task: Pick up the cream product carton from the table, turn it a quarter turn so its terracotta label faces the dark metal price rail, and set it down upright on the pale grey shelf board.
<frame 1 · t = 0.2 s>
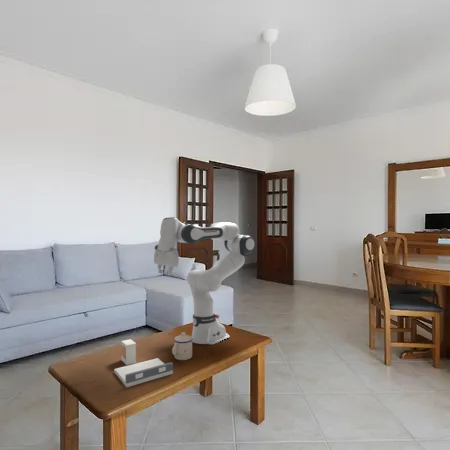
hand: (164, 274, 164), 39 cm above the table, tool pointing down, fingers open, 8 cm apart
teacup with lid: (181, 358, 153), on the table
shelf board: (143, 373, 136), on the table
product carton: (128, 361, 149), on the table
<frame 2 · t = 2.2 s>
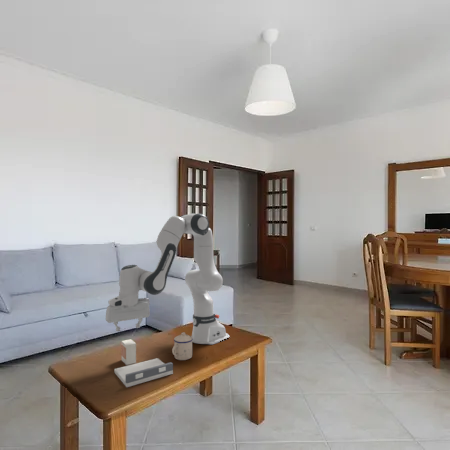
hand: (128, 329, 149), 15 cm above the table, tool pointing down, fingers open, 8 cm apart
nothing on the table moved.
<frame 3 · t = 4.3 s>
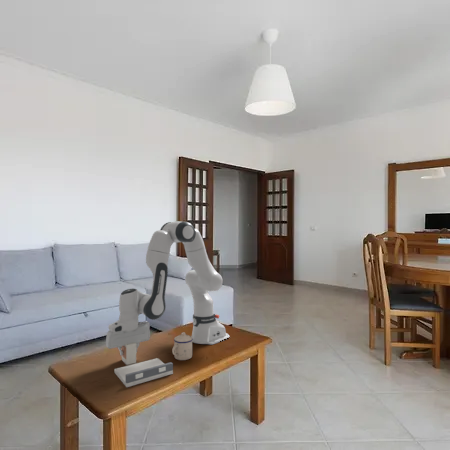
hand: (128, 353, 149), 4 cm above the table, tool pointing down, fingers closed on product carton, 5 cm apart
product carton: (128, 361, 149), on the table, touching gripper
everything else where it was.
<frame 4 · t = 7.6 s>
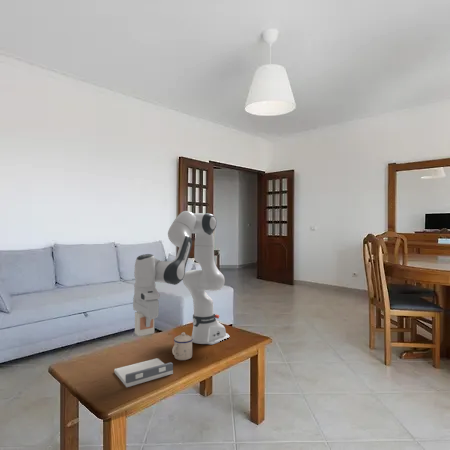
hand: (144, 324, 135), 21 cm above the table, tool pointing down, fingers closed on product carton, 5 cm apart
product carton: (144, 333, 136), point 18 cm above the table, touching gripper
everything else where it was.
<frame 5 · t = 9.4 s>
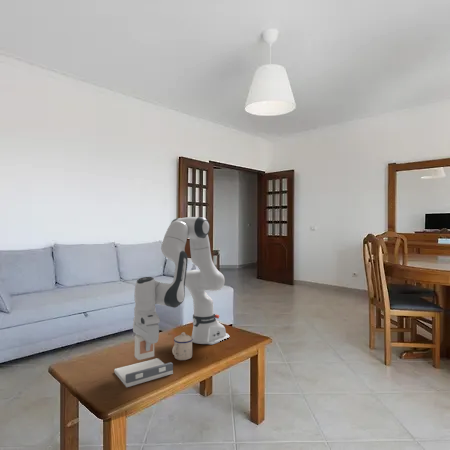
hand: (144, 348, 135), 11 cm above the table, tool pointing down, fingers closed on product carton, 5 cm apart
product carton: (144, 356, 135), point 8 cm above the table, touching gripper
everything else where it was.
when the fingers open (7 cm above the table, at t = 11.1 s): product carton drops 1 cm, resting on shelf board.
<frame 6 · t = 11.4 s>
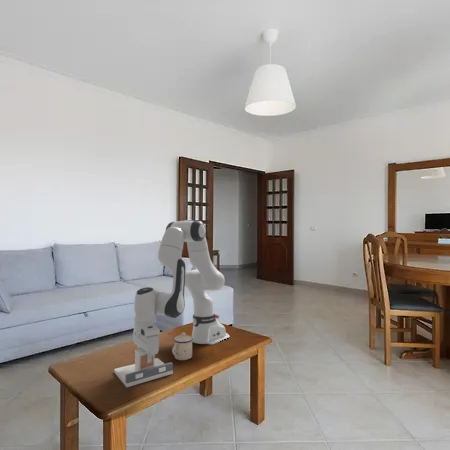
hand: (144, 358, 135), 7 cm above the table, tool pointing down, fingers open, 7 cm apart
product carton: (144, 370, 135), point 1 cm above the table, touching shelf board
everything else where it was.
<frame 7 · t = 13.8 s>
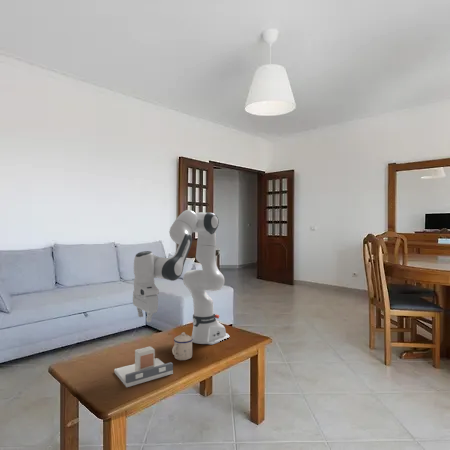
hand: (144, 319, 140), 22 cm above the table, tool pointing down, fingers open, 8 cm apart
nothing on the table moved.
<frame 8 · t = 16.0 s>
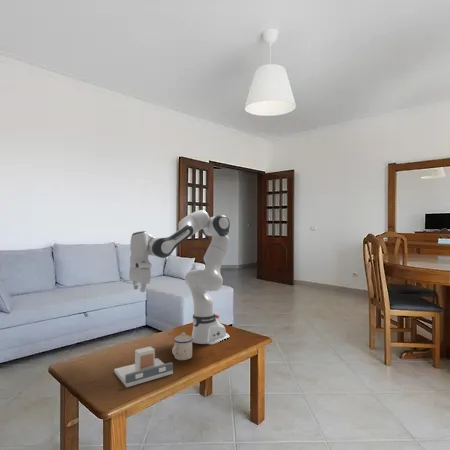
hand: (139, 290, 160), 31 cm above the table, tool pointing down, fingers open, 8 cm apart
nothing on the table moved.
at the end: product carton inside the target area (0.2 cm from its centre), point 1.5 cm above the table; product carton tilted 0°; the gripper is holding nothing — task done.
